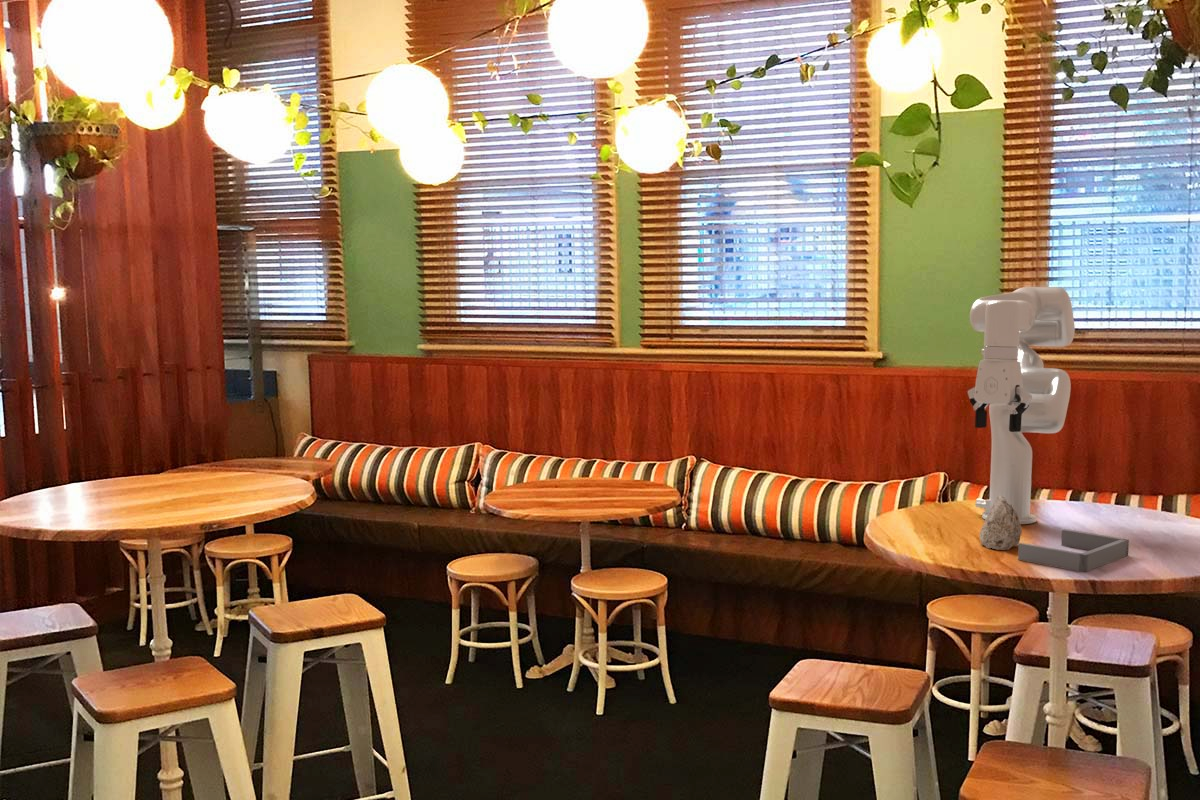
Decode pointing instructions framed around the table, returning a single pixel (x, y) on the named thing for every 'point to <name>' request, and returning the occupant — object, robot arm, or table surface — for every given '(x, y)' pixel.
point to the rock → (1001, 526)
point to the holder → (1099, 554)
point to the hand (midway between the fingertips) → (997, 429)
